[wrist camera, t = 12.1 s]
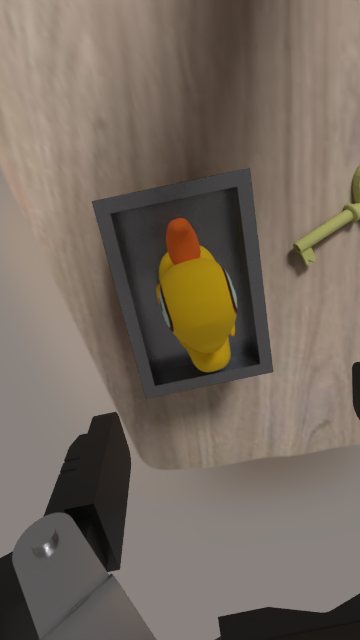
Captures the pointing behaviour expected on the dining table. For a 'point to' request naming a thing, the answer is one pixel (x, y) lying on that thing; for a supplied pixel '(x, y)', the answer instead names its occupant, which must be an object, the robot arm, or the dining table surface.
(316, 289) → the dining table surface
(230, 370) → the gray rectangular tray
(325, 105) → the dining table surface
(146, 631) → the robot arm
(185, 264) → the duckling
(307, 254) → the key
